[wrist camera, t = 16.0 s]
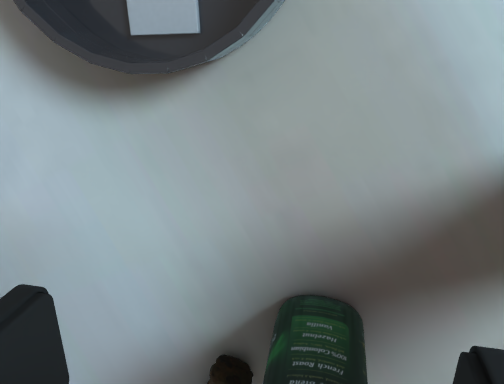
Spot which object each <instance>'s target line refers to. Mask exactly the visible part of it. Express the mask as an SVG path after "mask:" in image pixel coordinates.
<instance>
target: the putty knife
mask: <svg viewBox="0 0 504 384" xmlns="http://www.w3.org/2000/svg"><path fill="white" fill-rule="evenodd" d="M126 2H127V9H128V17H129V25H130V33H131V35H132V36H135V35H166V34H196V33H200V19H199V5H198V0H126Z"/></svg>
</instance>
